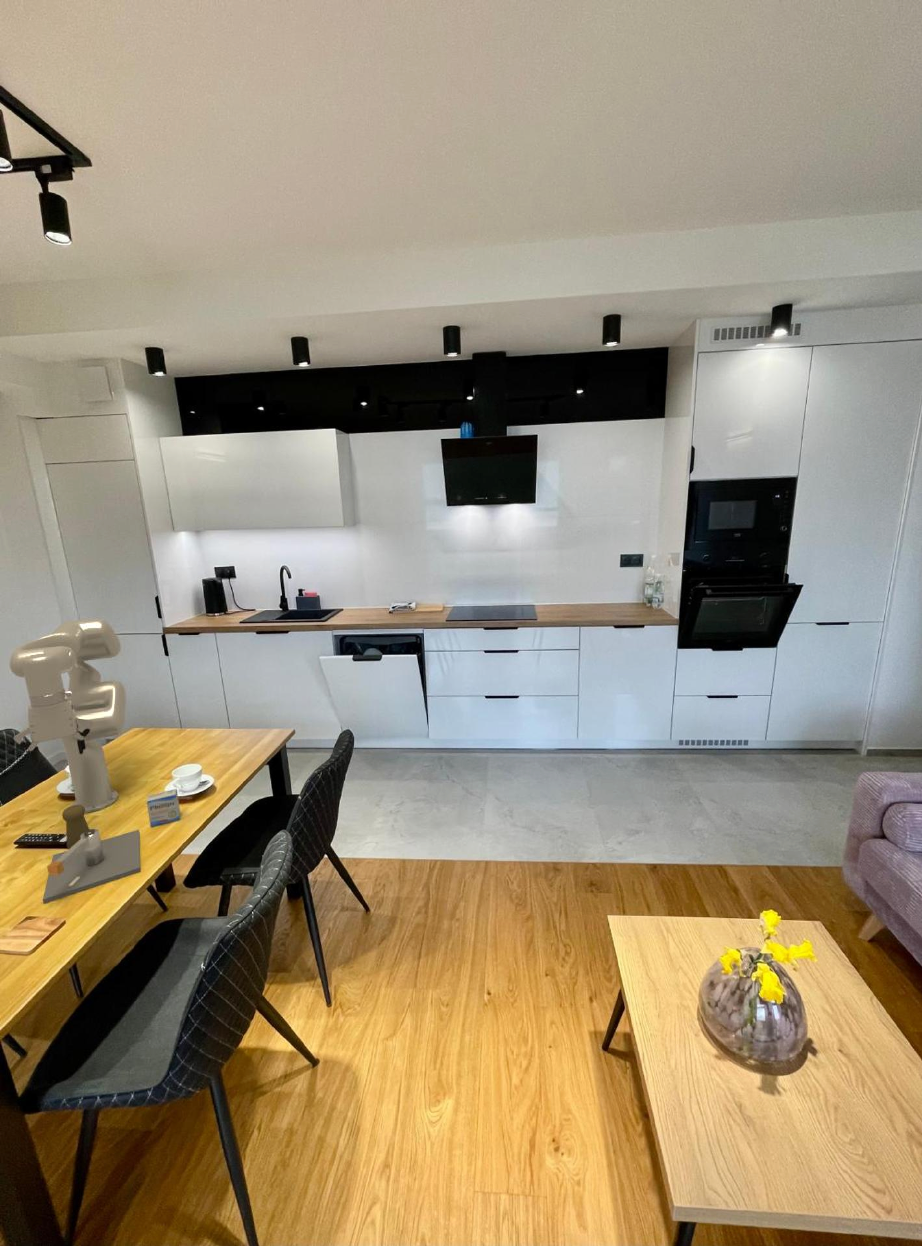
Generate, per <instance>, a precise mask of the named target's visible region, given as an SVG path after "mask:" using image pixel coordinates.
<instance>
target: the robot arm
mask: <svg viewBox="0 0 922 1246" xmlns="http://www.w3.org/2000/svg"><path fill="white" fill-rule="evenodd" d="M121 648H122V647H121V642H120V639H119V637H118V635H117V634H116V632H115V631H114V629H113V628H112V626H111V625H110V624H109V623H108V622H107V621H106V620H105V619H102V618H91V619H90V618H89V619H81V620H80V619H79V620H78V619H77V620H71V621H66V622H64V623H61V624H60V625H59V626H57V628H56V629H55V630H54V631H53V632H52V633H50V634H48V635H45V636H43V637H40V638H37V639H33V640H30V641H27V642H26V643H23V644H21V645H20V646H18V648H16V649H14V652H13V653H12V654H11V657H10V658H9V659H10V660H9V668H10V671H11V672H12V673H13V674H14V675H15V676H16V677H18V678H24V681H25V685H26V690H27V694H28V698H29V703H30V705H29V706H28V708H27V709H28V710H27V716H28V717H27V718H28V727H27V728H25V729H24V730H22V731H21V732H19V733H18V734H17V733H16V735H14V737H13V740H14V741H15V742H16V744H19V746H20V747H22V748H24V749H26V750H27V751H28V752H30V757H31V760H32V761H34V762H35V764H36V765H38V764H40V763H41V759H42V758H41V753H40V748H39V746H38V744H39V743H43V742H44V743H45V742H49V741H54V740H59V739H60V741H61V744H62V745H63V746H62V747H63V749H64V752H65V755H66V759H67V764H68V770H69V774H70V779H71V784H72V787H73V792H74V793H73V794H74V799H75V800H74V801H73V802H72V804H71V805H70V806H73V805H82V806H83V807H84V808H85V814H88V813H93V812H97V811H100V810H102V809H105V808H107V807H109V806H110V805H112V804H113V803H114V802H116V801H117V799H118V798H119V793H118V791H116V790H113V789H112V788H111V781H110V776H109V772H108V766H107V762H106V761H107V760H106V756H105V750H104V748H103V747H102V745H101V744H100V743H99V742H98V741H96V740H97V739H103V738H110V737H114V736H118V735H120V734H121V733H123V731H124V729H125V722H126V721H125V720H126V704H127V703H126V701H127V700H126V699H127V697H126V696H127V695H126V689H125V687H124V685H123V683H122V682H120V681H118V680H105V681H101V679H102V678H101V673H100V671H98V670H97V669H96V668H95V667H94V666H92V665H91V664H89V663H87V662H86V661H94V660H95V661H96V660H104V659H111V658H115V657H117V656H118V655H120V652H121ZM65 673H67V674H68V677H69V680H68V682H69V683H68V689H67V690H66V689H65V686H64V682H63V678H62V674H65ZM29 734H30V735H29ZM28 735H29V736H30V740H31V742H30V741H28V740H26V739H24V737H26V736H28Z"/></svg>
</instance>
